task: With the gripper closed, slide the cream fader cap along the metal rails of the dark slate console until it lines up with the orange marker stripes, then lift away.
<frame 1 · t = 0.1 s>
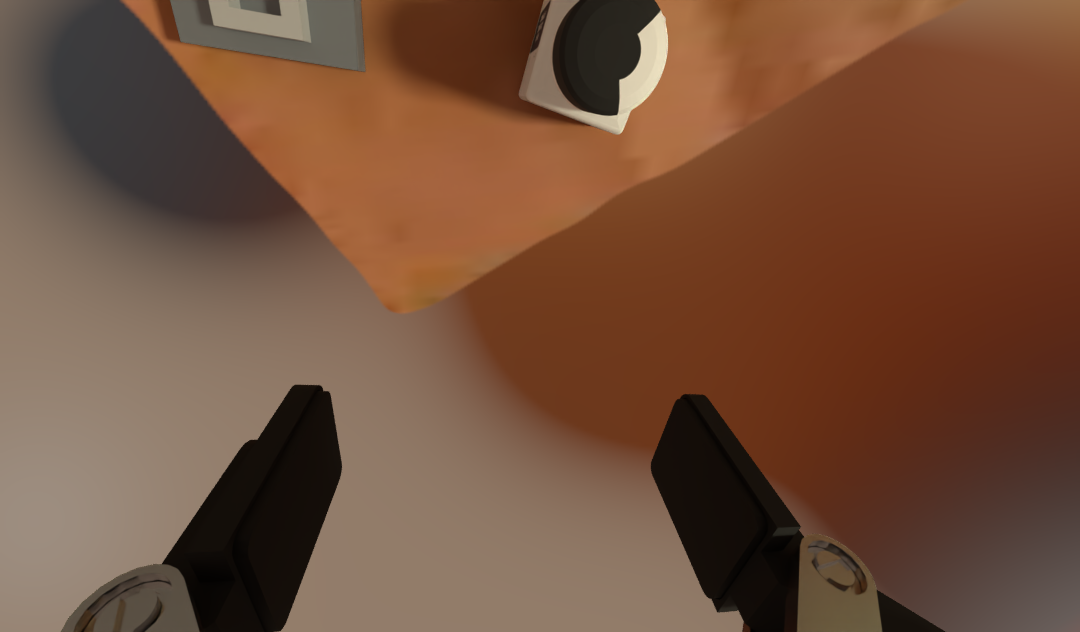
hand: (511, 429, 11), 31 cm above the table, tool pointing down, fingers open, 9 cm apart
container: (572, 65, 33), on the table
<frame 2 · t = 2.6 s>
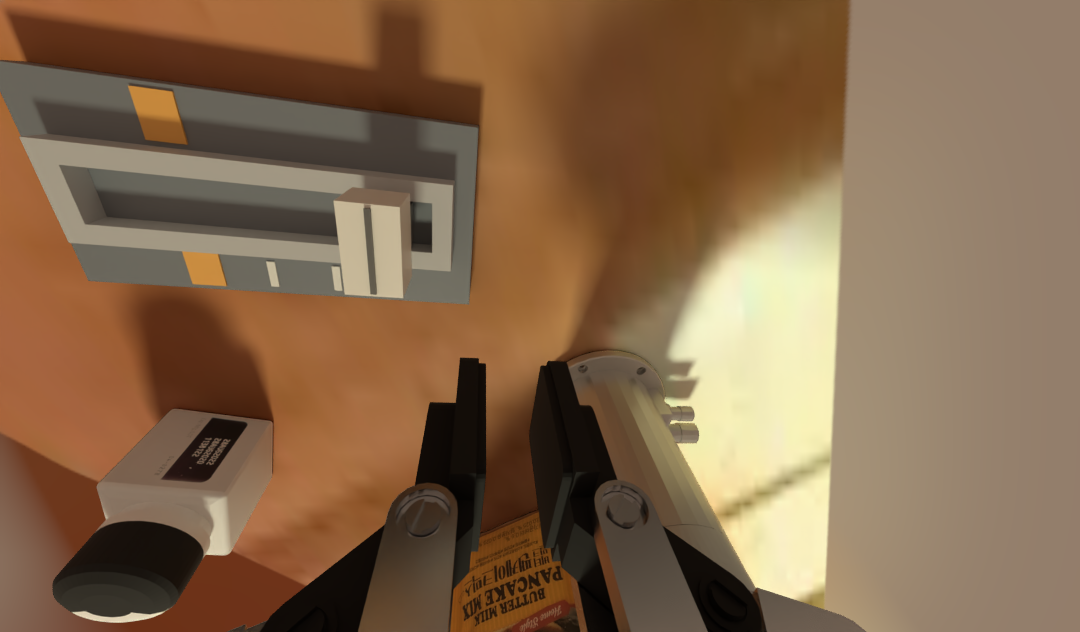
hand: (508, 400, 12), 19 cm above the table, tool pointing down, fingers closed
console: (290, 199, 26), on the table
fader: (383, 234, 22), point 5 cm above the table, slide at 0.0 cm
container: (227, 441, 36), on the table
pancake mix bag: (514, 534, 48), on the table
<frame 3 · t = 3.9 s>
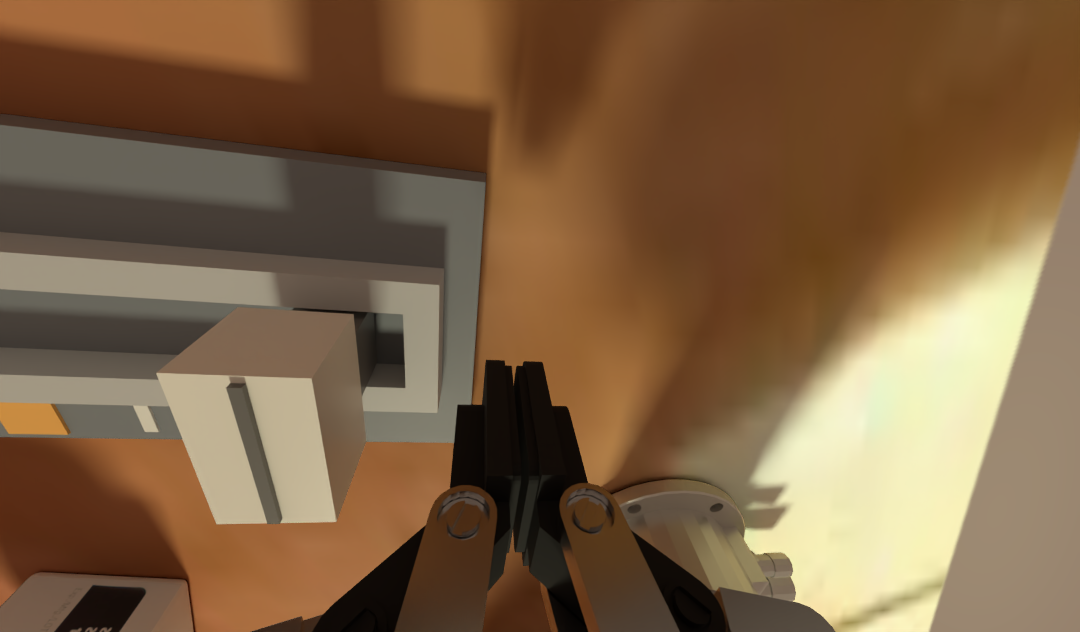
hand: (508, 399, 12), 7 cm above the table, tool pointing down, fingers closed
console: (174, 292, 16), on the table
fader: (308, 383, 12), point 5 cm above the table, slide at 0.0 cm
container: (126, 603, 25), on the table
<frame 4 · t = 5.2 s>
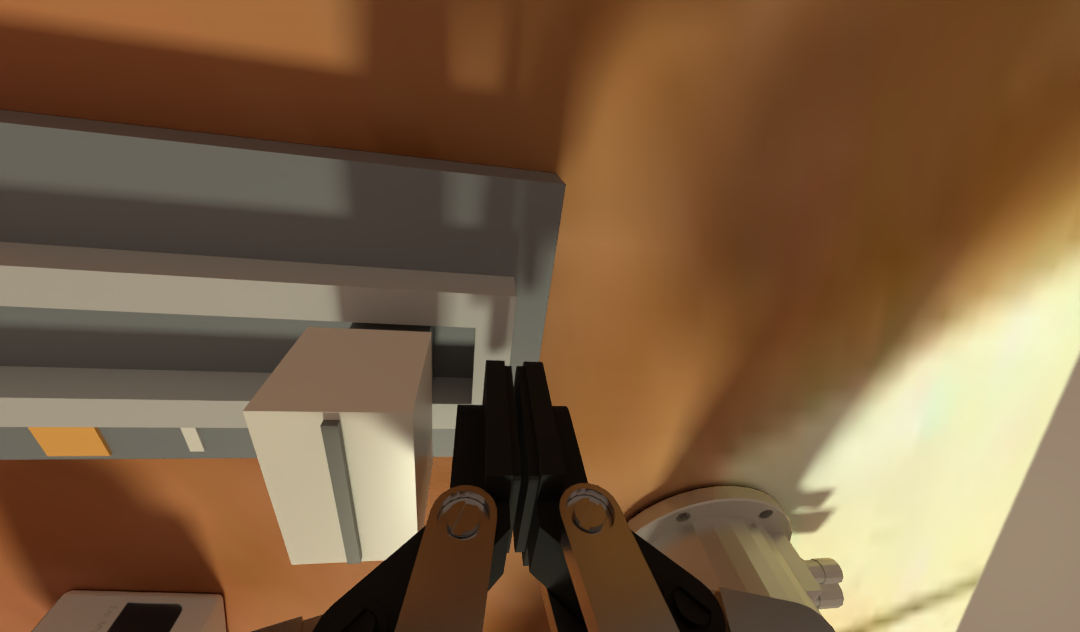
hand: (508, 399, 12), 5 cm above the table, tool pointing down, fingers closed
console: (220, 304, 15), on the table
fader: (377, 405, 11), point 5 cm above the table, slide at 0.2 cm, touching gripper
container: (160, 618, 24), on the table
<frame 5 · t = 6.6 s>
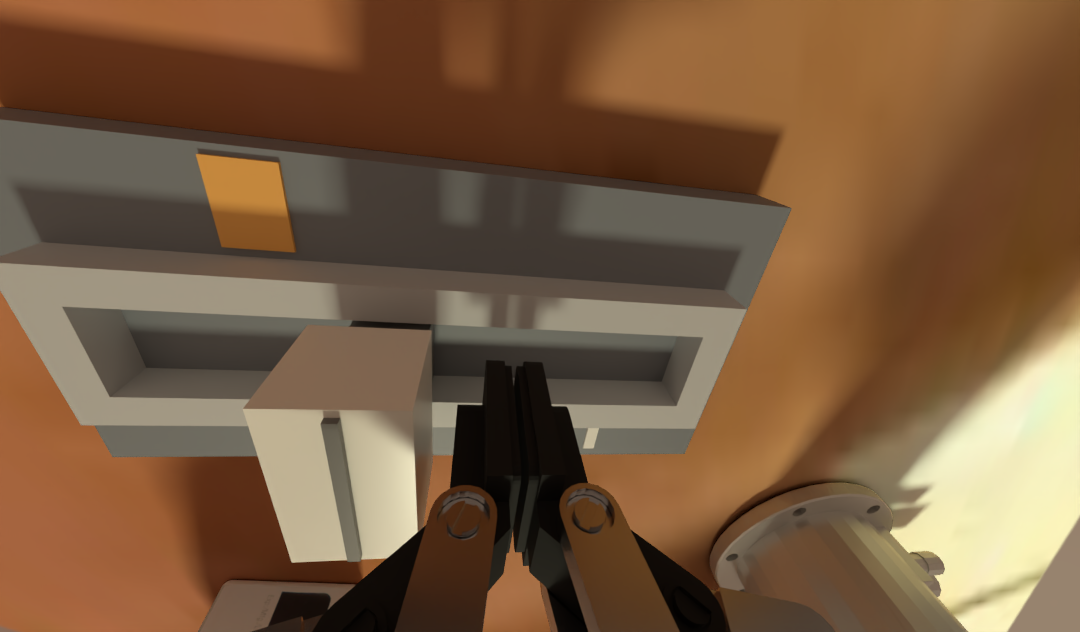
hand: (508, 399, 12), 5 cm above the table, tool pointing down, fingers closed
console: (436, 313, 16), on the table
fader: (377, 404, 11), point 5 cm above the table, slide at 8.1 cm, touching gripper
container: (297, 608, 26), on the table
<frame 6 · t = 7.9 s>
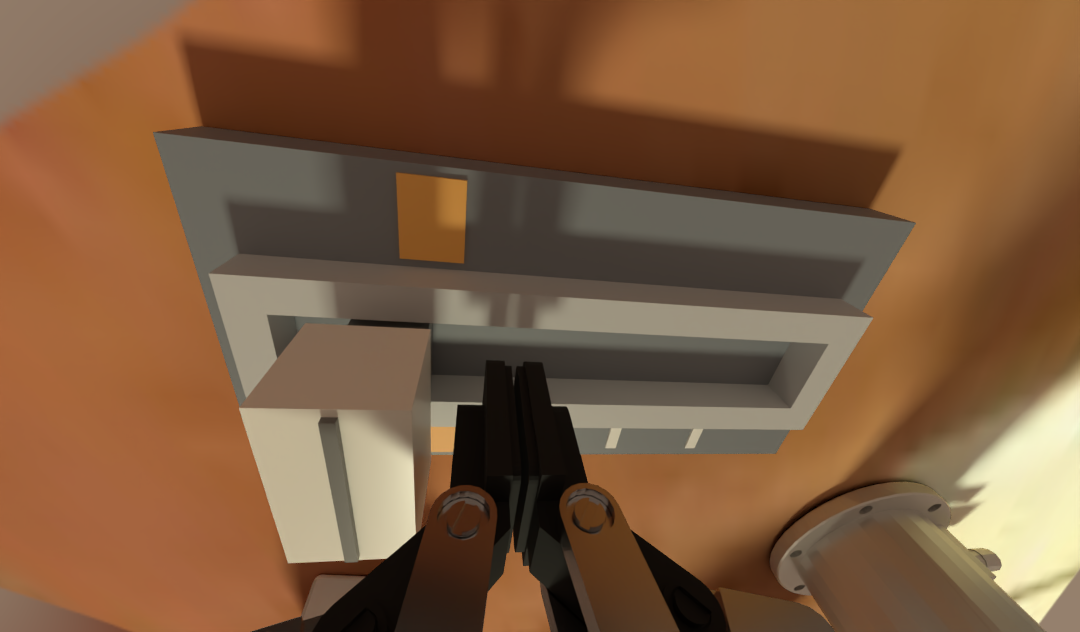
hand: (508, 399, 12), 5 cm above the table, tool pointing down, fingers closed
console: (558, 319, 17), on the table
fader: (375, 403, 11), point 5 cm above the table, slide at 13.2 cm, touching gripper
container: (375, 602, 26), on the table
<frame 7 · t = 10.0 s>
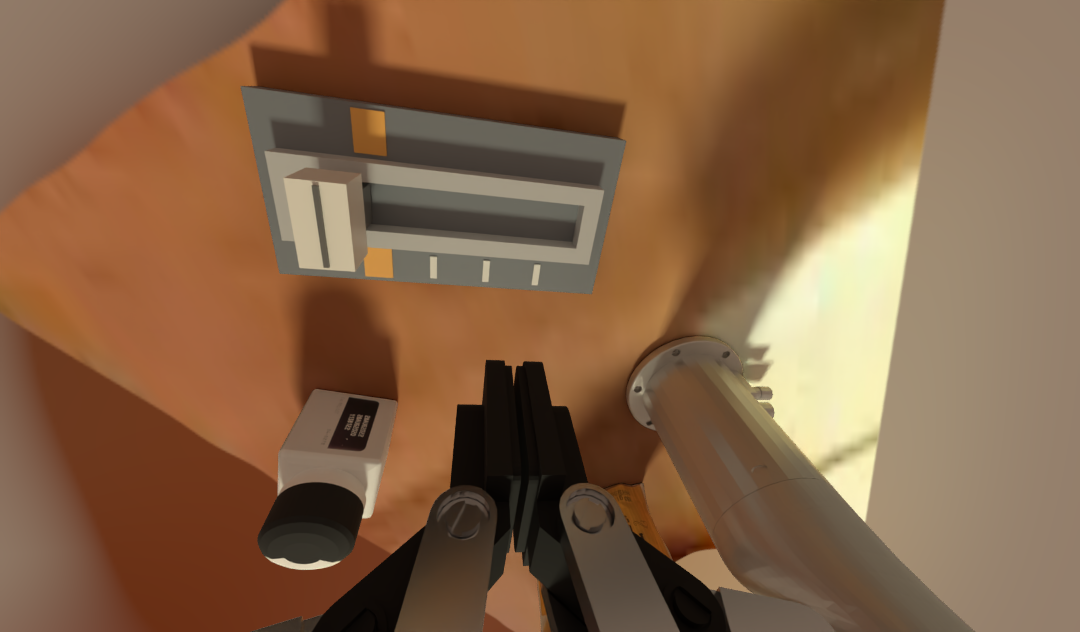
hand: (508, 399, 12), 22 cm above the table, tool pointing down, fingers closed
console: (450, 202, 30), on the table
fader: (338, 213, 24), point 5 cm above the table, slide at 13.3 cm
container: (354, 420, 39), on the table
pancake mix bag: (588, 508, 52), on the table
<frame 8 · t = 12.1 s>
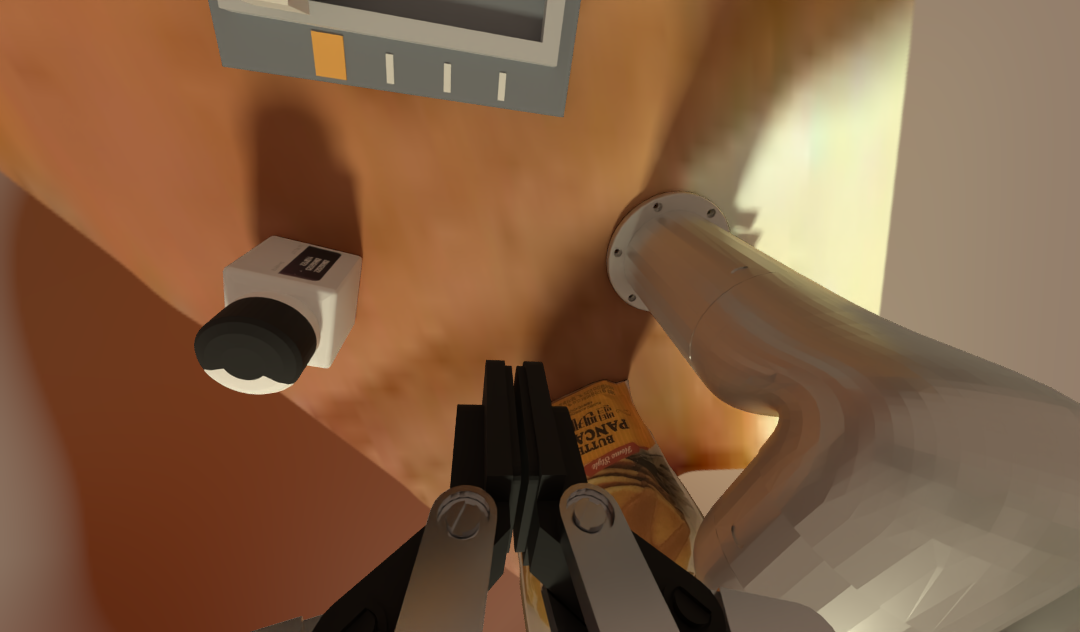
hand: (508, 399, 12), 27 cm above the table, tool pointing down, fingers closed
container: (317, 281, 37), on the table
pancake mix bag: (571, 410, 50), on the table
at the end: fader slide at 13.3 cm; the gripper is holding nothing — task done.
